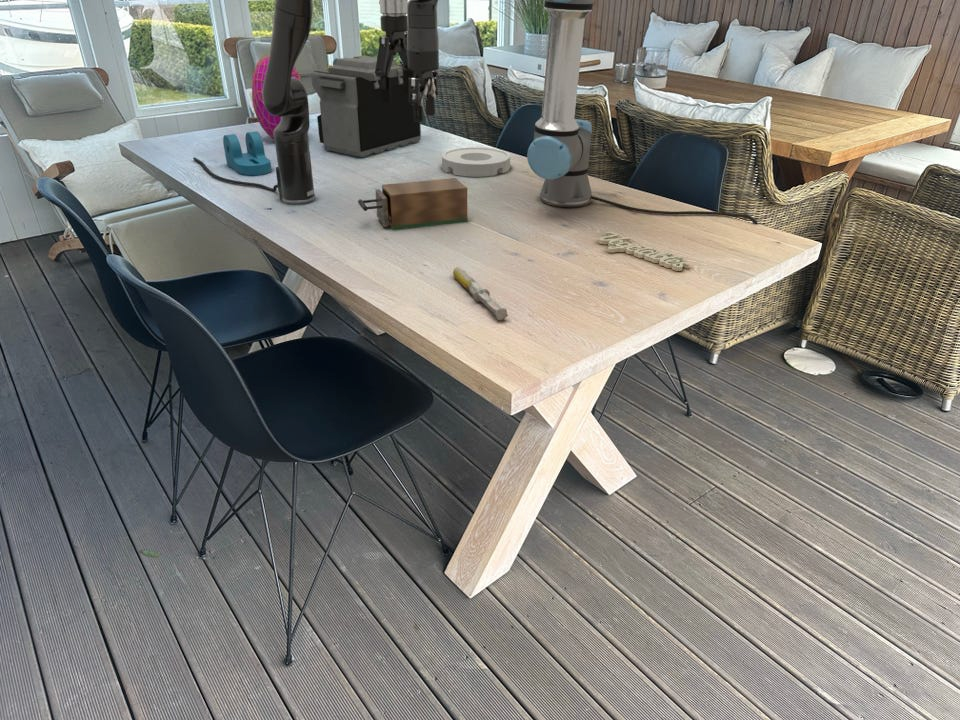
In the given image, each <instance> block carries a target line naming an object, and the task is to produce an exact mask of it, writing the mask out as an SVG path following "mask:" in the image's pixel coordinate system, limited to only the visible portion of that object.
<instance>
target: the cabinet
mask: <svg viewBox="0 0 960 720" xmlns="http://www.w3.org/2000/svg"><path fill="white" fill-rule="evenodd" d="M381 192H382V193H383V194H384V195H385V192H386V193H387V194H388V195H389V197H390V204H391V220H390V219H389V217H388V221H389V227H390V229H391V230H392V231H393V230H402V229H404V230H405V229H413V228H421V227H430V226H439V225H446V224H456V223H466V222H468V187H467V186H466V185H465V184H464V183H462V182H461V181H460V180H459V179H457V178H456V177H453V178H452V177H451V178H443V179H442V178H441V179H430V180H420V181H418V180H417V181H409V182H398V183H397V182H396V183H386V184H381ZM385 196H386V195H385Z"/></svg>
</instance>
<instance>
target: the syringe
mask: <svg viewBox="0 0 960 720" xmlns="http://www.w3.org/2000/svg"><path fill="white" fill-rule="evenodd" d="M452 274H453V277H454V279H455V280H457V281H458V282H459V283H460V285H462V287H464V289H466V290H467V291H468V293H470V295H471V296H472V298H473V300H474V302H477V303H478V302H480V303H482V304H483V305H484V306H485V307H486V308H487V309H488V310H489V311H490V312H491V313H492V314H493V315H494V316H495V317H496V320H497V321H503V320H504V319H506V318H507V317H509V314H508V310H507V308H506V307H502V306H501V305H500V303H498V302H497V301H496V300H494V299H493V298H492V297H491V296H490V295H491V293H490V290H488V289H486V288H483V287H482V286H481V285H480V284H479V283H478V282H477V281H476V280H474V278H473V277H471V275H469V274H468V273H467V272H466V270H465V269H464V268H463V267H462V266H456V267H454V268H453V271H452Z"/></svg>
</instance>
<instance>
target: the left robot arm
mask: <svg viewBox="0 0 960 720" xmlns="http://www.w3.org/2000/svg"><path fill="white" fill-rule="evenodd" d="M438 3H439V0H408V4H407V14H406V16H407V26H408V28H407V31H406V33H407V59H408V68H409V69H410V70H413V71H414V78H409V80H408V83H409V104H412V106H413V115H414V122H421V123H422V122H424V107H423V104H424V100H425V115H426V116H435V115H436V102H435V100H436V99H437V97H438V96H439V72H438V70H439V68H440V52H439V51H440V48H439V47H440V46H439V42H440V41H439V40H440V39H439V32H438ZM313 14H314V1H313V0H275V1H274V9H273V17H272V19H273V20H272V31H271V40H270V47H269V54H268V55H269V60H268V66H267V70H266V75H265V79H264V84H263V90H262V98H263V103H264V106H265V108H266V110H267V111H268V112H269V113H270V114H271V115H273V116H276V117H280V116H282V118H281V121H280V123H279V125H278V126H277V127H276V128H275V129H274V139H273V140H274V148H275V154H276V161H277V166H276V167H275V175H276V181H277V183H276V184H274V185H273V187H269V186H267V185H264V184H261V183H255V182H247V181H240V180H234V179H230V178H226V177H222V176H220V175H217V174H215V173H214V172H212V171H211V170H210V168H209V167H207V165H206V164H205V163H204V162H203V161H202V160H200V159H198V158H196V156H195V157H193V161H195V162H197V163H198V164H200V165H201V166H202V168H203V169H204V170H205V171H206V172H207V174H209V175H210V176H212V177H213V178H215V179H217V180H219V181H222V182H226V183H230V184H235V185H241V186H250V187H257V188H261V189H264V190H266V191H269V192H276V191H277V192H278V196H279V201H282V202H283V203H285V204H290V205H303V204H308V203H312V202H313V201H315V200H316V193H315V187H314V177H313V168H312V160H311V159H312V158H311V152H310V151H311V150H310V142H309V141H310V140H309V130H310V123H311V122H310V110H309V96H308V93H307V90H306V87H305V85H304V84H303V81H302V80H301V81H302V82H301V81H300V80H299V79H297V78H294V77H292V71H293V68H294V66H295V64H296V62H297V60H298V58H299V56H300V54H301V53H302V51H303V50H304V47H305V45H306V43H307V41H308V39H309V37H310V34H311V29H312V20H313ZM412 95H413V98H412Z"/></svg>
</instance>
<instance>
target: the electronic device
mask: <svg viewBox="0 0 960 720" xmlns="http://www.w3.org/2000/svg"><path fill="white" fill-rule="evenodd" d="M377 57H378V56H367V55H356V56H353V57H350V58H349V57H343V58H342V57H341V58H337V61H336V63H335V65H333V64H332V66H331V67H329V72H328V71H320V70H314V71H313V70H312V71H310V79H311V87H313V90H314V91H315V93H316V94H317V96H318V98H319V110H320V111H319V112H320V114H319V115H317V116H316V119H317V128H318V138H319V143H320V144H323V146H324V149H325V150H327V151H330V152H335V153H340V154H344V155H348V156H353V157H357V158H362V159H363V158H366V157H367V158H368V157H369V155H371V154H375V155H377V154H381V153H382V152H383V151H391V150H395V149H396V148H397V147H405V146H407V145H408V144H416V143H418V142H419V141H421V137H422V128H421V123H422V122H414V115H413V106H412V104H409V94H404V71H403V70H406V69H405V67H404V65H400V64H396V62H395V60H394V59H393V62H392V65H391V69H390V72H389V75H388V77H390V81H391V100H392V102H382V98H381V81H380V77H377V76H376V75H375V69H376V63H377ZM379 70H380V69H379ZM413 78H414V71H413ZM412 98H413V95H412Z"/></svg>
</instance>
